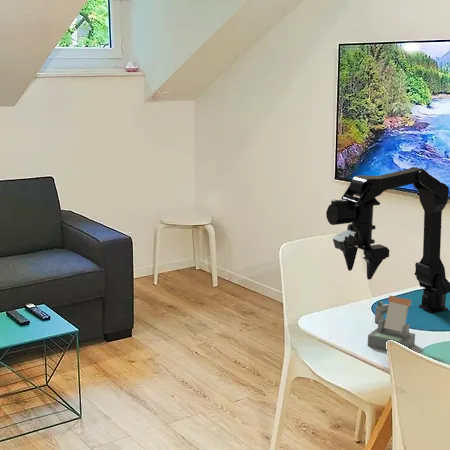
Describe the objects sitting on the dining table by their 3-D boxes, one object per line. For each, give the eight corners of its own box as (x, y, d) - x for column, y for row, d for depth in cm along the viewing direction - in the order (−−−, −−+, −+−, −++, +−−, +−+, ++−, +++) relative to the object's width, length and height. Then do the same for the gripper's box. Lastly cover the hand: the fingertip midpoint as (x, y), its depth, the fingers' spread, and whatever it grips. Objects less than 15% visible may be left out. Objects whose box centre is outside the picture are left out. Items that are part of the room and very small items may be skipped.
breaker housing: (379, 336, 199) (380, 315, 197) (414, 344, 193) (415, 323, 192) (367, 345, 192) (368, 324, 191) (403, 354, 187) (404, 332, 185)
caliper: (377, 324, 208) (379, 304, 206) (374, 323, 209) (375, 303, 207) (409, 305, 223) (410, 286, 222) (405, 305, 224) (407, 285, 222)
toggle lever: (385, 328, 195) (391, 296, 196) (404, 332, 192) (411, 300, 193) (382, 327, 193) (389, 295, 194) (402, 331, 190) (409, 299, 191)
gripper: (319, 217, 206) (317, 269, 209) (358, 231, 189) (355, 288, 193) (351, 213, 210) (349, 264, 214) (392, 227, 194) (388, 282, 198)
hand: (359, 274), depth 205 cm, fingers open, 9 cm apart
